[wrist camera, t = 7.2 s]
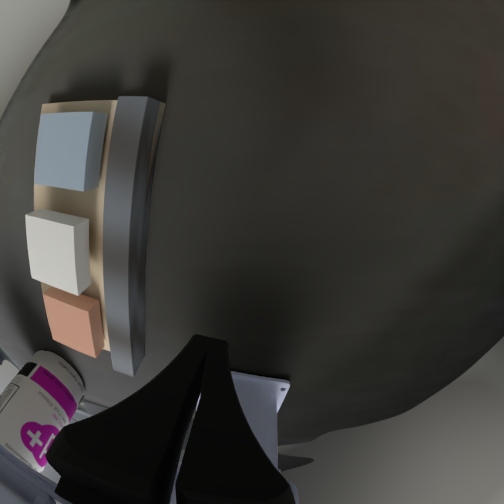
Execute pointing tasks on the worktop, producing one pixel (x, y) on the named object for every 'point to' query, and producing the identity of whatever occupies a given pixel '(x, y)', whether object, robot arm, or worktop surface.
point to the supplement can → (38, 407)
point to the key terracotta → (75, 321)
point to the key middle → (59, 250)
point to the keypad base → (115, 218)
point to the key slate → (70, 150)
